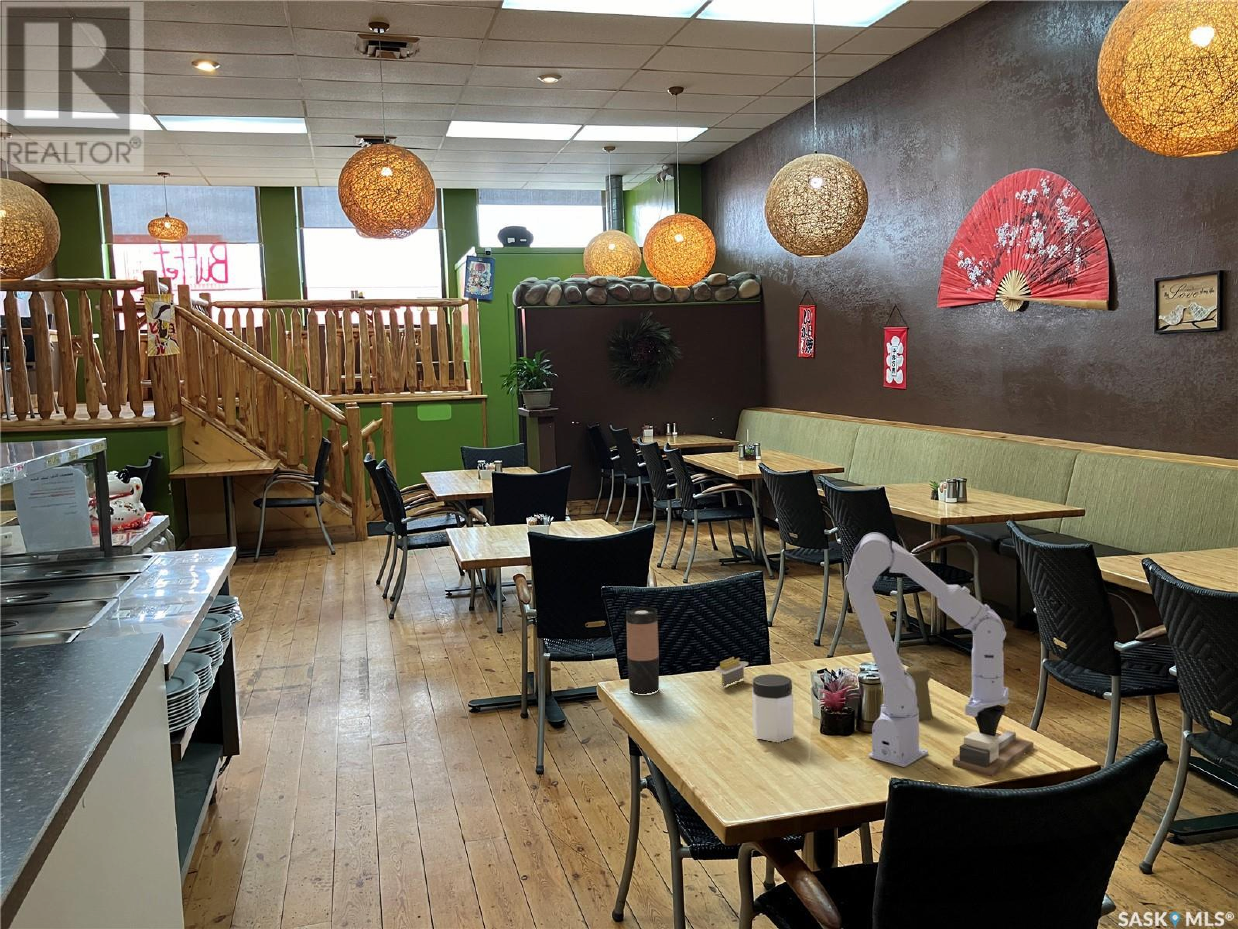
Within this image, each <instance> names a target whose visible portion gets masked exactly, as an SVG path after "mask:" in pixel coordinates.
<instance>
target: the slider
mask: <svg viewBox="0 0 1238 929" xmlns="http://www.w3.org/2000/svg"><path fill="white" fill-rule="evenodd" d="M963 744H965V745H969V746H973V747H977V748H980V749H984V750H988V751H990V763H991V762H993V761H994V760H996V759H997V758H998V757H999V738H998V737H994V736H990V735H986V734H982V733H980V732H978V731H972V732H970V733H968V734H967V735H965V736H964V737H963Z"/></svg>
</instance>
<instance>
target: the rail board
mask: <svg viewBox="0 0 1238 929" xmlns="http://www.w3.org/2000/svg"><path fill="white" fill-rule="evenodd" d="M1016 736H1017V734H1016V732H1015V731H1011V730H1006V731H1005V732H1003V733H998V732H996V735H995V737H998V738H999V757H998V758H997V759H996V760H994V761H993V762H991V763H990V751H988V750H984V749H980V748H977V747H973V746H969V745H965V744H964V743H963V744H962V745H959V754H958V755H956V756H954V757H953V758H952V766H955V767H959V768H962V769H966V770H970V771H974V772H977V773H981V774H984V775H988V776H991V777H995V776H996V775H997V774H999V773H1000V772H1002V771H1003V770H1004V769H1006V768H1007V767H1008V766H1010V765H1011V764H1013V763H1014V762H1016V761H1017V760H1019V759H1020V758H1021V757H1023V756H1024V755H1025V754H1024V753H1026V754H1027V753H1028V752H1030V751H1031V750H1033V749H1034V741H1031V740H1025V739H1022V738H1018V737H1016ZM1032 748H1033V749H1032ZM1030 749H1031V750H1030ZM1029 750H1030V751H1029ZM1019 757H1020V758H1019ZM1015 760H1016V761H1015Z"/></svg>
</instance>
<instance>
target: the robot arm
mask: <svg viewBox="0 0 1238 929" xmlns="http://www.w3.org/2000/svg"><path fill="white" fill-rule="evenodd" d="M852 555H853V556H852V559H851V563H850V567H849V571H848V573H847V578H846V583H845V586H846V589H847V592H848V594H849V598H850V600H851V602H852V605H853V607H854V610H855V614H856V615H857V618H858V621H859V624H860V626H861V629H862V632H863V634H864V637H865V639H866V642H867V645H868V647H869V650H870V653H871V655H872V658H873V660H874V663H875V666H876V668H877V670H878V675H879V680H880V684H881V687H882V689H883V697H882V698H883V700H882V701H883V703H882V704H881V705H880V715H879V717H878V718H877V719H876V720H875V722H874V723H873V725H872V727H871V728H872V730H871V731H872V732H871V736H872V737H871V738H872V741H871V744H872V747H871V749H872V751H871V752H870V753H868V754H867V755H868V757H869V758H872V759H875V760H878V761H882V762H884V763H889V764H892V765H896V766H898V767H902V768H906V767H907V766H909V765H910V764H912V763H914V762H916V761H917V760H919V759H920V758H922V757H924V756H925V755H927V754H928V753H929V751H928V750H927V749H923V748H920V720H919V709H918V707H917V696H916V693H915V690H916V685H915V682H914V680H913V678H912V677H911V676H910V675H909V674H908V673H907V672H906V669H905V666H904V664H903V662H902V661H901V658H900V656H899V654H898V652H897V649H896V646H895V643H894V642H893V639H892V636H891V632H890V631H889V628H888V625H887V623H886V620H885V616H884V615H883V612H882V609H881V607H880V604H879V602H878V599H877V597H876V593H875V591H874V589H873V586H874V584H875V582H876V581H877V578H878V577H879V576H880V575H881V573H883V572H884V571H885V570H887V569H888V571H889V573H896V574H897V573H898V574H904V575H907V577H908V578H910V579H912V580H913V581H914V582H915V583H917V584H918V585H920V586H921V587H922V588H923V589H925V590H926V591H927V592H928V593H930V594H932V595H933V596H934V597H935V598H936V600H937V607H938V608H939V610H941V611H943V612H944V613H945V615H948V616H949V617H950V618H951V619H952V620H954V621H955V622H956V623H957V624H959V625H960V626H961V627H962V628H963V629H966V630H970V631H971V633H972V649H971V694H970V695H969V698H968V702H967V703H965V706H964V708H965V709H964V711H965V712H964V713H965V715H966V716H969V717H974V720H975V722H976V724H977V727H978V731H979V732H978V733H982V734H986V735H990V736H994V737H995V735H996V733H997V730H998V726H999V724H1000V722H1001V721H1000V720H1001V719H1002V716H1003V715H1004V713H1005V712H1006V707H1005V706H1007V705H1008V704H1009V703H1010V701H1011V700H1010V698H1009V695H1010V694H1009V691H1010V690H1009V689H1010V688H1009V687H1007V686H1004V672H1005V671H1004V669H1005V668H1004V663H1005V662H1004V650H1003V648H1004V640H1005V638H1006V637H1007V631H1006V628H1005V626H1004V625H1005V624H1004V623H1003V621H1002V619H1001V617H1000V616H999V615H998V614H997V613H996V611H995V610H994V609H991V607H990V606H989V605H988V604H987V603H986V604H983V603H982V602H980V601H979V600H978V599H976V598H975V597H974V596H972V595H971V594H970V593H971V590H970V589H969V588H968V587H966V586H963V587H962V586H960V585H959V584H947V583H946V582H945V581H944V580H942V579H941V578H940V577H939V576H937V575H936V574H935V573H934V572H933V571H931V569H929V568H928V566H926V565H924V563H922V561H920V560H919V559H918V558H916V557H915V556H914V555H913V554H912V553H911V552H909V551H908V550H907V549H905V548H904V547H902V546H901V545H899V544H898V543H897V542H895V541H893V540H892V541H891V540H890V539H889V537H887V536H886V535H884V533H881V532H869V533H867V534H865V535H863V537H862V538H861V540H860V541H859V543H858V544H857V545H856V546H855V548H854V551H853V554H852Z"/></svg>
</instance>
